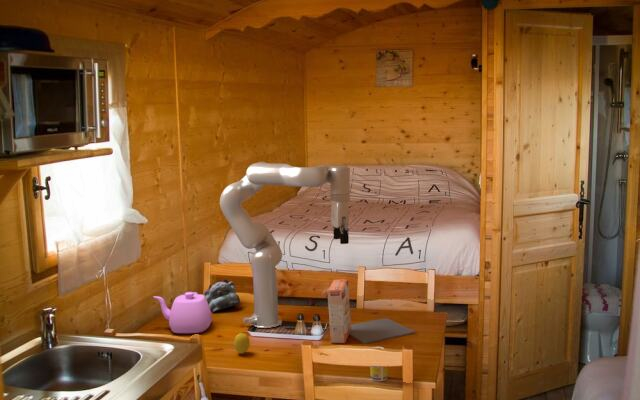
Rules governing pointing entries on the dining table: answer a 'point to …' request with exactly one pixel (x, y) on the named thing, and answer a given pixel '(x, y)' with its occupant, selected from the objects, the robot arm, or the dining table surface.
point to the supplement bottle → (378, 372)
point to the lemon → (241, 343)
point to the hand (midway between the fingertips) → (340, 241)
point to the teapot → (187, 313)
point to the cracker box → (339, 311)
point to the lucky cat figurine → (221, 296)
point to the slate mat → (378, 330)
